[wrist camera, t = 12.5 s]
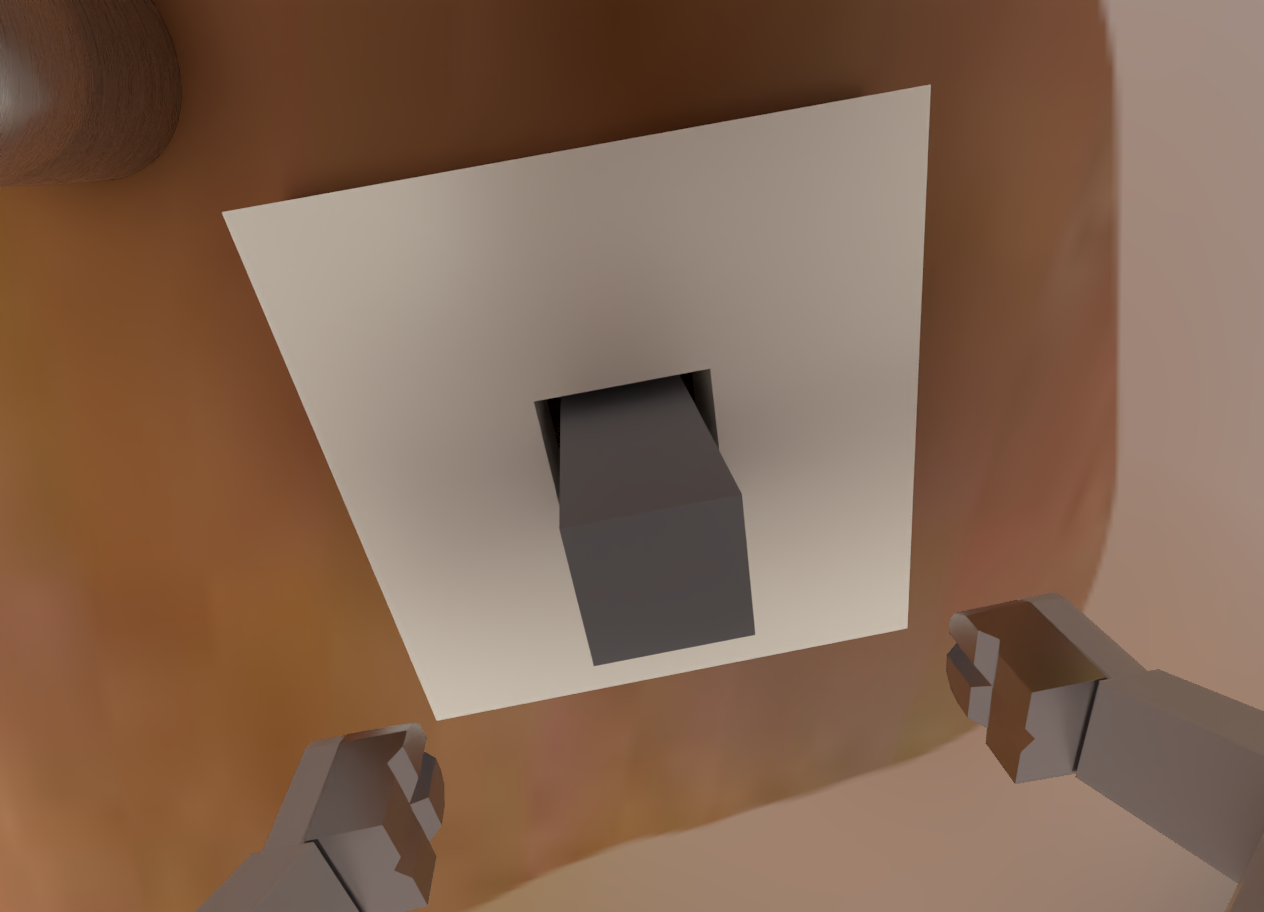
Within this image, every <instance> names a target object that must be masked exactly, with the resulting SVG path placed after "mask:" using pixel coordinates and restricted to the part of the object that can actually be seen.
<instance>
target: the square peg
mask: <svg viewBox="0 0 1264 912" xmlns="http://www.w3.org/2000/svg"><path fill="white" fill-rule="evenodd" d="M559 530H560V534H561V538H562V542H563V546H564V550H565V554H566V558H567V562H568V566H569V570H570V574H571V578H572V582H573V586H574V590H575V594H576V598H577V601H578V605H579V609H580V613H581V617H582V621H583V625H584V629H585V633H586V637H587V641H588V645H589V649H590V653H591V657H592V661H593V665H594V666H598V665H603V664H608V663H614V662H619V661H624V660H629V659H634V658H639V657H644V656H650V655H655V654H660V653H665V652H670V651H675V650H680V649H686V648H691V647H696V646H701V645H706V644H711V643H716V642H721V641H727V640H732V639H737V638H742V637H747V636H752V635H755V626H754V615H753V605H752V594H751V584H750V573H749V563H748V552H747V542H746V531H745V521H744V510H743V500H742V493H741V491H740V490H739V488H738V486H737V484H736V482H735V480H734V478H733V476H732V474H731V472H730V470H729V468H728V467H727V465H726V463H725V461H724V459H723V457H722V455H721V453H720V451H719V449H718V447H717V446H716V444H715V442H714V440H713V438H712V436H711V434H710V432H709V430H708V428H707V426H706V424H705V423H704V421H703V419H702V417H701V415H700V413H699V411H698V409H697V407H696V405H695V403H694V401H693V400H692V398H691V396H690V394H689V392H688V390H687V388H686V386H685V384H684V382H683V380H682V379H681V377H680V375H679V374H678V375H673V376H668V377H662V378H657V379H652V380H646V381H641V382H636V383H630V384H625V385H620V386H614V387H609V388H604V389H598V390H593V391H588V392H582V393H577V394H572V395H566V396H561V408H560V507H559Z"/></svg>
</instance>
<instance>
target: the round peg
mask: <svg viewBox="0 0 1264 912" xmlns="http://www.w3.org/2000/svg"><path fill="white" fill-rule="evenodd" d="M180 107H181V79H180V70H179V66H178V61H177V57H176V53H175V50H174V47H173V44H172V41H171V38H170V35H169V33H168V31H167V29H166V27H165V24H164V22H163V20H162V18H161V16H160V14H159V13H158V11H157V9H156V8H155V6H154V4H153V3H152V1H151V0H0V187H15V186H31V185H47V184H63V183H78V182H94V181H106V180H114V179H118V178H122V177H126V176H129V175H131V174H133V173H136V172H138V171H140V170H142V169H143V168H145V167H146V166H148V165H149V164H151V163H152V162H153V161H154V160H155V159H156V158H157V157H158V156H159V155H160V154H161V153H162V152H163V150H164V149H165V147H166V146H167V145H168V143H169V141H170V139H171V137H172V135H173V133H174V131H175V128H176V125H177V122H178V119H179V113H180Z"/></svg>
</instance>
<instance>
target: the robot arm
mask: <svg viewBox="0 0 1264 912" xmlns="http://www.w3.org/2000/svg"><path fill="white" fill-rule="evenodd" d="M949 634H950V635H951V636H952V637H953V639H954V640H955V641H956V642H957V643H956V644H955V646H954V647H953V648H952V649H951V650H950V652H949V653H948V654H947V665H946V672H947V676H948V680H949V684H950V688H951V691H952V693H953V695H954V697H955V699H956V701H957V703H958V704H959V706H960V707H961V709H962V710H963V712H964V713H965V715H966V716H967V717H968V718H969V719H971V720H973V721H975V722H976V723H978V724H980V725H982V726H984V727H986V728H987V735H986V744H987V746H988V747H989V748H990V750H991V751H992V752H993V754H994V755H995V757H996V758H997V760H998V761H999V762H1000V764H1001V765H1002V766H1003V768H1004V769H1005V771H1006V772H1007V773H1008V775H1009V776H1010V778H1011V779H1012V780H1013V782H1014V783H1015V784H1019V783H1024V782H1030V781H1036V780H1041V779H1047V778H1053V777H1059V776H1064V775H1070V774H1075V773H1076V776H1075V777H1076V778H1078V779H1079V780H1081V781H1082V782H1084V783H1086V784H1087V785H1088V786H1090V787H1092V788H1093V789H1095V790H1096V791H1098V792H1099V793H1101V794H1102V795H1104V796H1105V797H1107V798H1108V799H1110V800H1112V801H1113V802H1114V803H1116V804H1118V805H1119V806H1121V807H1122V808H1124V809H1125V810H1127V811H1128V812H1130V813H1132V814H1133V815H1134V816H1136V817H1137V818H1139V819H1141V820H1142V821H1143V822H1145V823H1146V824H1148V825H1150V826H1151V827H1153V828H1154V829H1156V830H1157V831H1159V832H1160V833H1162V834H1163V835H1165V836H1166V837H1168V838H1169V839H1171V840H1173V841H1174V842H1175V843H1177V844H1179V845H1180V846H1182V847H1183V848H1185V849H1186V850H1188V851H1189V852H1191V853H1192V854H1194V855H1195V856H1197V857H1199V858H1200V859H1201V860H1203V861H1204V862H1206V863H1208V864H1209V865H1211V866H1212V867H1214V868H1215V869H1217V870H1218V871H1220V872H1221V873H1223V874H1224V875H1226V876H1228V877H1229V878H1230V879H1232V880H1233V881H1235V882H1237V883H1238V885H1237V887H1236V889H1235V891H1234V893H1233V895H1232V897H1231V899H1230V901H1229V903H1228V905H1227V907H1226V910H1225V912H1264V711H1262V710H1259V709H1256V708H1254V707H1252V706H1249V705H1247V704H1244V703H1242V702H1239V701H1237V700H1234V699H1231V698H1229V697H1227V696H1224V695H1222V694H1219V693H1217V692H1214V691H1212V690H1209V689H1206V688H1204V687H1202V686H1199V685H1197V684H1194V683H1191V682H1189V681H1187V680H1184V679H1181V678H1179V677H1177V676H1174V675H1172V674H1169V673H1167V672H1164V671H1161V670H1159V669H1157V670H1151V671H1147V670H1146V669H1145V668H1144V667H1143V666H1141V665H1140V664H1139V663H1138V662H1137V661H1136V660H1135V659H1134V658H1132V657H1131V656H1130V655H1129V654H1128V653H1127V652H1126V651H1125V650H1124V649H1122V648H1121V647H1120V646H1119V645H1118V644H1117V643H1116V642H1115V641H1113V640H1112V639H1111V638H1110V637H1109V636H1108V635H1107V634H1106V633H1104V632H1103V631H1102V630H1101V629H1100V628H1099V627H1098V626H1097V625H1095V624H1094V623H1093V622H1092V621H1091V620H1090V619H1089V618H1088V617H1086V616H1085V615H1084V614H1083V613H1082V612H1081V611H1080V610H1079V609H1078V608H1076V607H1075V606H1074V605H1073V604H1072V603H1071V602H1070V601H1069V600H1067V599H1066V598H1065V597H1064V596H1062V595H1060V594H1057V593H1055V592H1053V593H1048V594H1043V595H1038V596H1034V597H1029V598H1024V599H1020V600H1014V601H1009V602H1004V603H1000V604H995V605H990V606H985V607H981V608H976V609H971V610H967V611H962V612H957V613H955V614H954V615H953V617H952V618H951V620H950V628H949ZM426 739H427V738H426V736H425V734H424V732H423V730H422V728H421V726H420V724H419V723H408V724H403V725H397V726H391V727H385V728H380V729H374V730H368V731H362V732H357V733H351V734H347V735H343V736H337V737H332V738H326V739H320V740H315V741H313V742H312V743H311V744H310V745H309V746H308V747H307V748H306V749H305V751H304V752H303V755H302V757H301V760H300V762H299V764H298V767H297V769H296V772H295V774H294V776H293V779H292V781H291V784H290V786H289V788H288V791H287V793H286V795H285V798H284V800H283V803H282V805H281V807H280V810H279V812H278V815H277V817H276V819H275V822H274V824H273V827H272V829H271V831H270V834H269V836H268V838H267V841H266V843H265V846H264V848H263V850H262V852H259V853H255V854H251V855H250V856H249V857H248V858H247V859H246V860H245V861H244V862H243V863H242V864H241V865H240V866H239V867H238V868H237V869H236V870H235V871H234V872H233V873H232V874H231V875H230V876H229V878H228V879H227V880H226V881H225V882H224V883H223V884H222V885H221V886H220V887H219V888H218V889H217V890H216V891H215V892H214V893H213V894H212V895H211V896H210V897H209V898H208V899H207V900H206V901H205V902H204V903H203V904H202V905H201V906H200V907H199V908H198V909H197V910H196V911H195V912H404V911H408V910H412V909H416V908H421V907H425V906H428V902H429V896H430V890H431V884H432V879H433V873H434V867H435V861H436V855H435V853H434V851H433V849H432V847H431V844H430V842H429V841H430V840H431V839H432V837H433V836H434V835H435V833H436V832H437V831H438V829H439V828H440V827H441V825H442V819H443V813H444V806H445V802H444V782H443V777H442V773H441V769H440V766H439V764H438V762H437V760H436V758H435V757H433V756H431V755H429V754H427V753H425V752H424V749H425V744H426Z"/></svg>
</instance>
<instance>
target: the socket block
mask: <svg viewBox="0 0 1264 912" xmlns="http://www.w3.org/2000/svg"><path fill="white" fill-rule="evenodd" d="M930 93H931V84H930V85H925V86H919V87H913V88H908V89H902V90H897V91H891V92H886V93H880V94H875V95H869V96H864V97H858V98H852V99H847V100H841V101H836V102H830V103H825V104H819V105H814V106H808V107H803V108H797V109H791V110H786V111H780V112H775V113H769V114H764V115H758V116H753V117H747V118H742V119H736V120H730V121H725V122H719V123H714V124H708V125H703V126H697V127H692V128H686V129H681V130H675V131H669V132H664V133H658V134H653V135H647V136H642V137H636V138H631V139H625V140H620V141H614V142H608V143H603V144H597V145H592V146H586V147H581V148H575V149H570V150H564V151H559V152H553V153H547V154H542V155H536V156H531V157H525V158H520V159H514V160H509V161H503V162H498V163H492V164H486V165H481V166H475V167H470V168H464V169H459V170H453V171H448V172H442V173H437V174H431V175H425V176H420V177H414V178H409V179H403V180H398V181H392V182H387V183H381V184H376V185H370V186H364V187H359V188H353V189H348V190H342V191H337V192H331V193H326V194H320V195H315V196H309V197H303V198H298V199H292V200H287V201H281V202H276V203H270V204H265V205H259V206H253V207H248V208H242V209H237V210H231V211H226V212H222V215H223V217H224V219H225V222H226V224H227V226H228V229H229V231H230V233H231V236H232V238H233V241H234V243H235V245H236V248H237V250H238V252H239V255H240V257H241V259H242V262H243V264H244V267H245V269H246V271H247V274H248V276H249V278H250V281H251V283H252V285H253V288H254V290H255V293H256V295H257V297H258V300H259V302H260V304H261V307H262V309H263V311H264V314H265V316H266V318H267V321H268V323H269V326H270V328H271V330H272V333H273V335H274V337H275V340H276V342H277V344H278V347H279V349H280V352H281V354H282V356H283V359H284V361H285V363H286V366H287V368H288V370H289V373H290V375H291V378H292V380H293V382H294V385H295V387H296V389H297V392H298V394H299V396H300V399H301V401H302V404H303V406H304V408H305V411H306V413H307V415H308V418H309V420H310V422H311V425H312V427H313V429H314V432H315V434H316V437H317V439H318V441H319V444H320V446H321V448H322V451H323V453H324V455H325V458H326V460H327V463H328V465H329V467H330V470H331V472H332V474H333V477H334V479H335V481H336V484H337V486H338V489H339V491H340V493H341V496H342V498H343V500H344V503H345V505H346V507H347V510H348V512H349V514H350V517H351V519H352V522H353V524H354V526H355V529H356V531H357V533H358V536H359V538H360V540H361V543H362V545H363V548H364V550H365V552H366V555H367V557H368V559H369V562H370V564H371V566H372V569H373V571H374V574H375V576H376V578H377V581H378V583H379V585H380V588H381V590H382V592H383V595H384V597H385V599H386V602H387V604H388V607H389V609H390V611H391V614H392V616H393V618H394V621H395V623H396V625H397V628H398V630H399V633H400V635H401V637H402V640H403V642H404V644H405V647H406V649H407V651H408V654H409V656H410V659H411V661H412V663H413V666H414V668H415V670H416V673H417V675H418V677H419V680H420V682H421V685H422V687H423V689H424V692H425V694H426V696H427V699H428V701H429V703H430V706H431V708H432V710H433V713H434V715H435V718H436V720H437V721H438V720H443V719H448V718H453V717H458V716H463V715H468V714H474V713H479V712H484V711H489V710H494V709H499V708H504V707H509V706H514V705H519V704H525V703H530V702H535V701H540V700H545V699H550V698H555V697H560V696H565V695H570V694H575V693H581V692H586V691H591V690H596V689H601V688H606V687H611V686H616V685H621V684H626V683H631V682H637V681H642V680H647V679H652V678H657V677H662V676H667V675H672V674H677V673H682V672H688V671H693V670H698V669H703V668H708V667H713V666H718V665H723V664H728V663H733V662H738V661H744V660H749V659H754V658H759V657H764V656H769V655H774V654H779V653H784V652H789V651H794V650H800V649H805V648H810V647H815V646H820V645H825V644H830V643H835V642H840V641H845V640H851V639H856V638H861V637H866V636H871V635H876V634H881V633H886V632H891V631H896V630H901V629H907V623H908V600H909V577H910V554H911V530H912V507H913V484H914V461H915V438H916V415H917V392H918V369H919V346H920V323H921V300H922V277H923V254H924V231H925V208H926V185H927V162H928V139H929V116H930ZM689 372H692V380H693V388H694V396H695V404H696V407H697V409H698V411H699V413H700V415H701V417H702V419H703V421H704V423H705V424H706V426H707V428H708V430H709V432H710V434H711V436H712V438H713V440H714V442H715V444H716V446H717V447H718V449H719V451H720V453H721V455H722V457H723V459H724V461H725V463H726V465H727V467H728V468H729V470H730V472H731V474H732V476H733V478H734V480H735V482H736V484H737V486H738V488H739V490H740V491H741V493H742V500H743V510H744V521H745V531H746V542H747V552H748V563H749V573H750V584H751V594H752V605H753V615H754V626H755V635H752V636H747V637H742V638H737V639H732V640H727V641H721V642H716V643H711V644H706V645H701V646H696V647H691V648H686V649H680V650H675V651H670V652H665V653H660V654H655V655H650V656H644V657H639V658H634V659H629V660H624V661H619V662H614V663H608V664H603V665H598V666H594V665H593V661H592V657H591V653H590V649H589V645H588V641H587V637H586V633H585V629H584V625H583V621H582V617H581V613H580V609H579V605H578V601H577V598H576V594H575V590H574V586H573V582H572V578H571V574H570V570H569V566H568V562H567V558H566V554H565V550H564V546H563V542H562V538H561V534H560V530H559V507H560V451H559V447H558V443H557V439H556V435H555V430H554V426H553V422H552V418H551V414H550V409H549V405H548V401H547V399H550V398H556V397H561V396H566V395H572V394H577V393H582V392H588V391H593V390H598V389H604V388H609V387H614V386H620V385H625V384H630V383H636V382H641V381H646V380H652V379H657V378H662V377H668V376H673V375H678V374H684V373H689Z"/></svg>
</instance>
